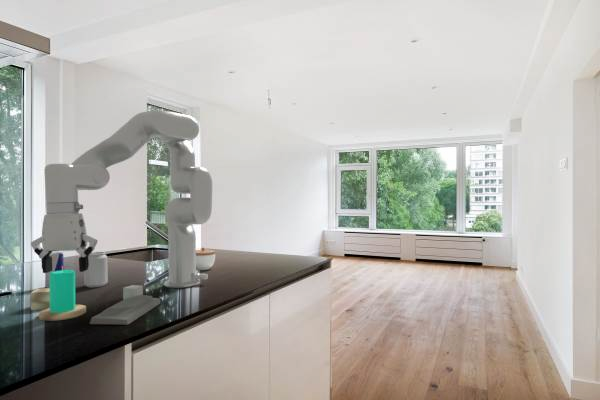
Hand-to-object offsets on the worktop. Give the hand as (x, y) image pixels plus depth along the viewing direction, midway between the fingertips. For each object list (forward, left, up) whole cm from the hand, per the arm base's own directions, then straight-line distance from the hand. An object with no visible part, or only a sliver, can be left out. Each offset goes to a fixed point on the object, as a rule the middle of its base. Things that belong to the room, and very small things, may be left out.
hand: (65, 271), depth 106 cm
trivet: (0, +1, -12) cm, 12 cm away
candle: (+1, +1, -11) cm, 11 cm away
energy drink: (+22, -33, -12) cm, 42 cm away
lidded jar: (-24, -65, -12) cm, 70 cm away
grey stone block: (-13, -14, -12) cm, 22 cm away
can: (+8, -34, -12) cm, 37 cm away
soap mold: (-17, 0, -12) cm, 21 cm away
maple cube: (+10, -7, -12) cm, 17 cm away
